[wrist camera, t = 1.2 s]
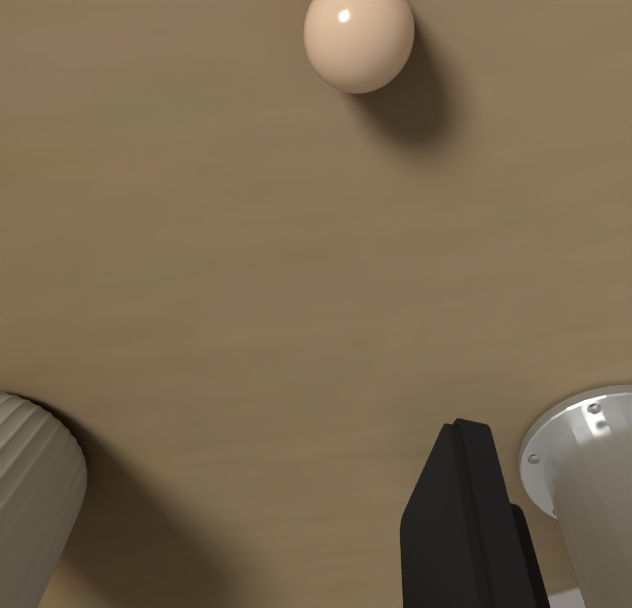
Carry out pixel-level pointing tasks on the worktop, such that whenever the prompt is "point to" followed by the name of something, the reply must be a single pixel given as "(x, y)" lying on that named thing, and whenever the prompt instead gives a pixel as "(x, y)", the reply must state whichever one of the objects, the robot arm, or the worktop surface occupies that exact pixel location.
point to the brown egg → (358, 42)
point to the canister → (35, 498)
